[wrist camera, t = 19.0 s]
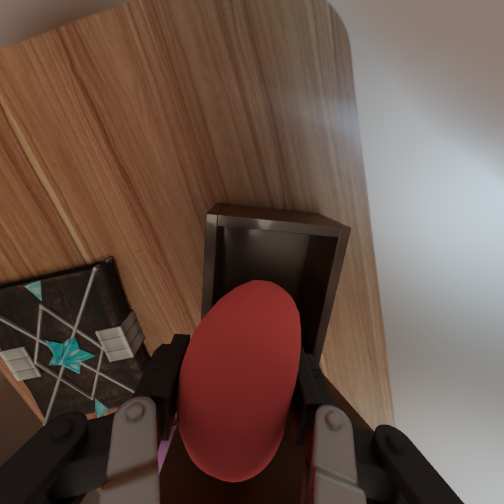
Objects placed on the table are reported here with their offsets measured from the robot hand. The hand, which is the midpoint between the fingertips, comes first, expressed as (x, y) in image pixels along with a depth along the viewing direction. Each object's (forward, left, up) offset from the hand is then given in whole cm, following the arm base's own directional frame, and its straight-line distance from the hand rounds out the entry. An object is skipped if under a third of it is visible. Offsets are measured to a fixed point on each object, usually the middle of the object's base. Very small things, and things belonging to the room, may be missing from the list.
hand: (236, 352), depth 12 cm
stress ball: (0, 0, -1) cm, 1 cm away
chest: (+4, +2, -19) cm, 20 cm away
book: (+6, -25, -19) cm, 32 cm away
